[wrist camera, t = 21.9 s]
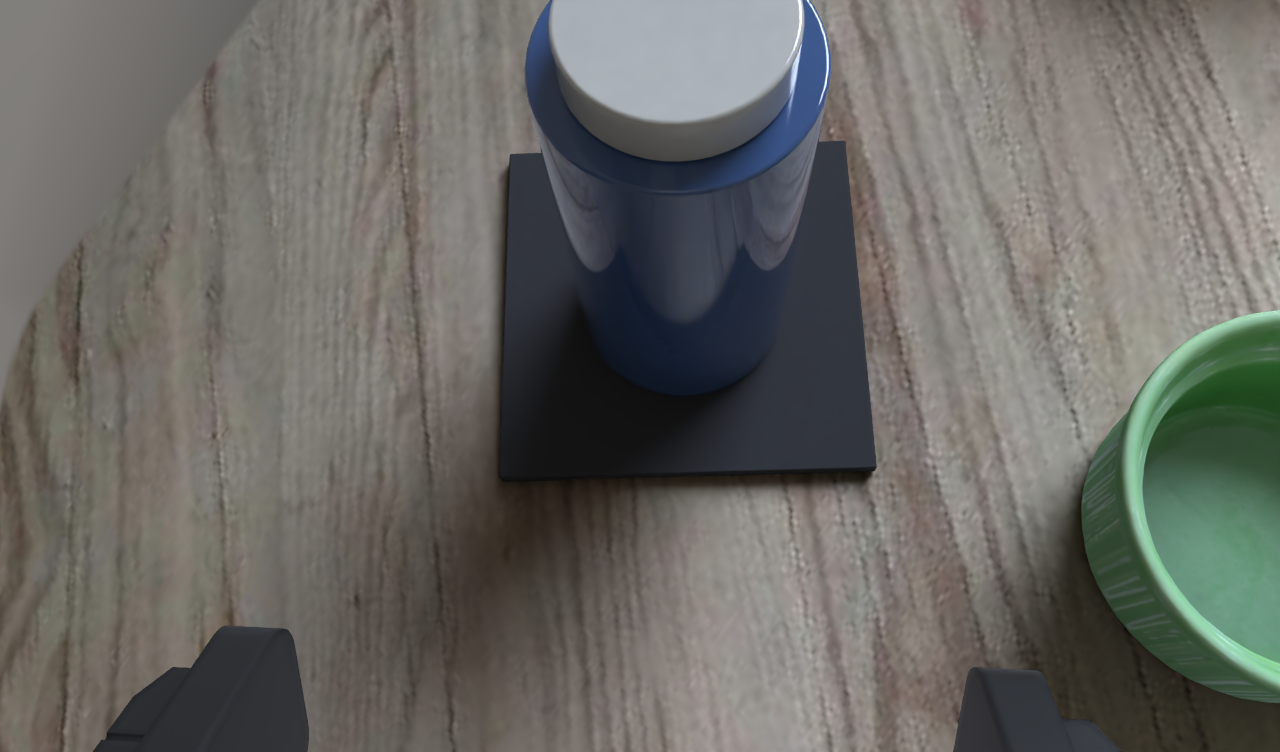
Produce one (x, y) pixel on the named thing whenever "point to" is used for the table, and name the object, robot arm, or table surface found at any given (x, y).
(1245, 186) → the table surface
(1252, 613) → the ramekin
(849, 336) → the coaster
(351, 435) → the table surface
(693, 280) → the blue cylinder
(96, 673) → the table surface
